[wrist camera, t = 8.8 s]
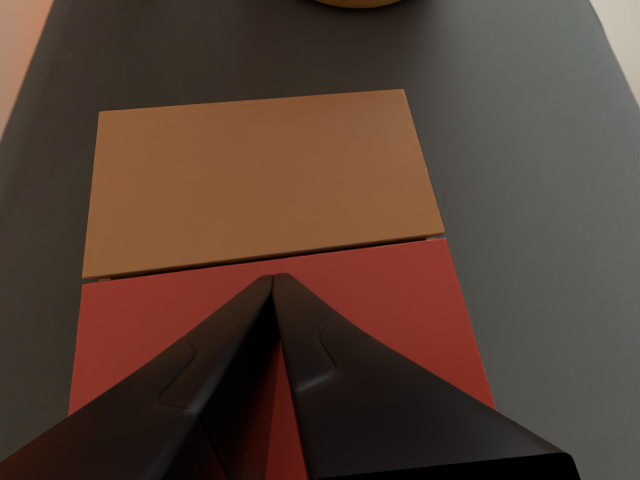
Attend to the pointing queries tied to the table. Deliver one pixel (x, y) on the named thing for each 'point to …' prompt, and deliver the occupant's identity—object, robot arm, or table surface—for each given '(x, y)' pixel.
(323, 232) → the carton
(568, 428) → the table surface
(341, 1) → the planter
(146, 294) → the flap
